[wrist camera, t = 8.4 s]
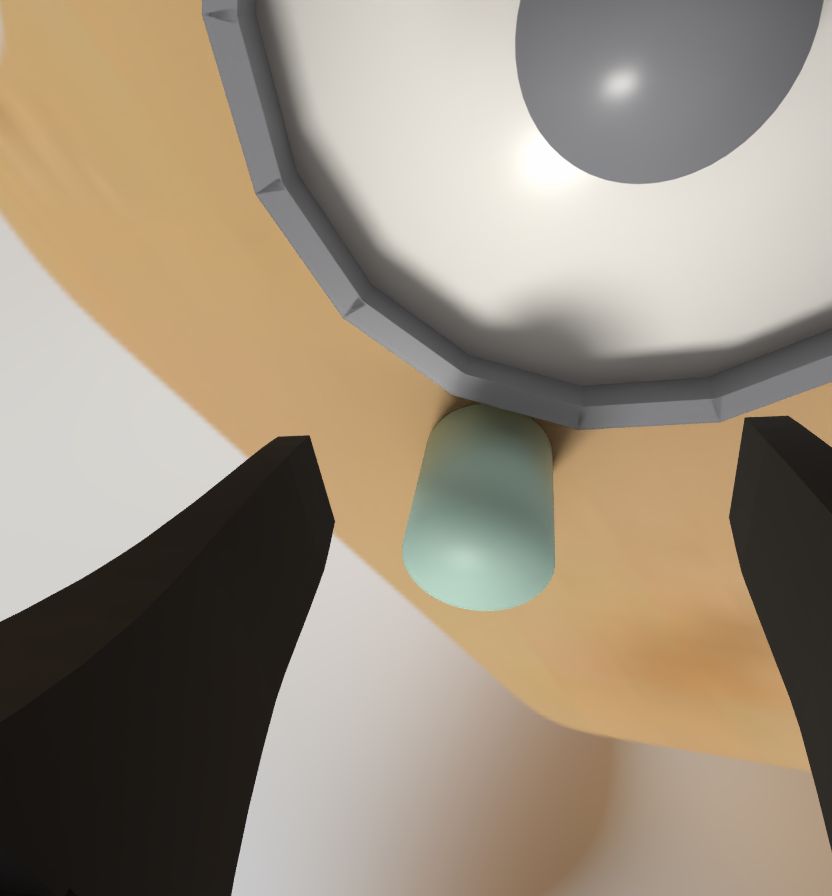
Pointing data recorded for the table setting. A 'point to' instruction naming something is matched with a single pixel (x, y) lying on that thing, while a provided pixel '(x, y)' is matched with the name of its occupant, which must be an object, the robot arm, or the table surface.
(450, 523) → the mint green cylinder
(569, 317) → the groove tray
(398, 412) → the table surface
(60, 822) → the robot arm
